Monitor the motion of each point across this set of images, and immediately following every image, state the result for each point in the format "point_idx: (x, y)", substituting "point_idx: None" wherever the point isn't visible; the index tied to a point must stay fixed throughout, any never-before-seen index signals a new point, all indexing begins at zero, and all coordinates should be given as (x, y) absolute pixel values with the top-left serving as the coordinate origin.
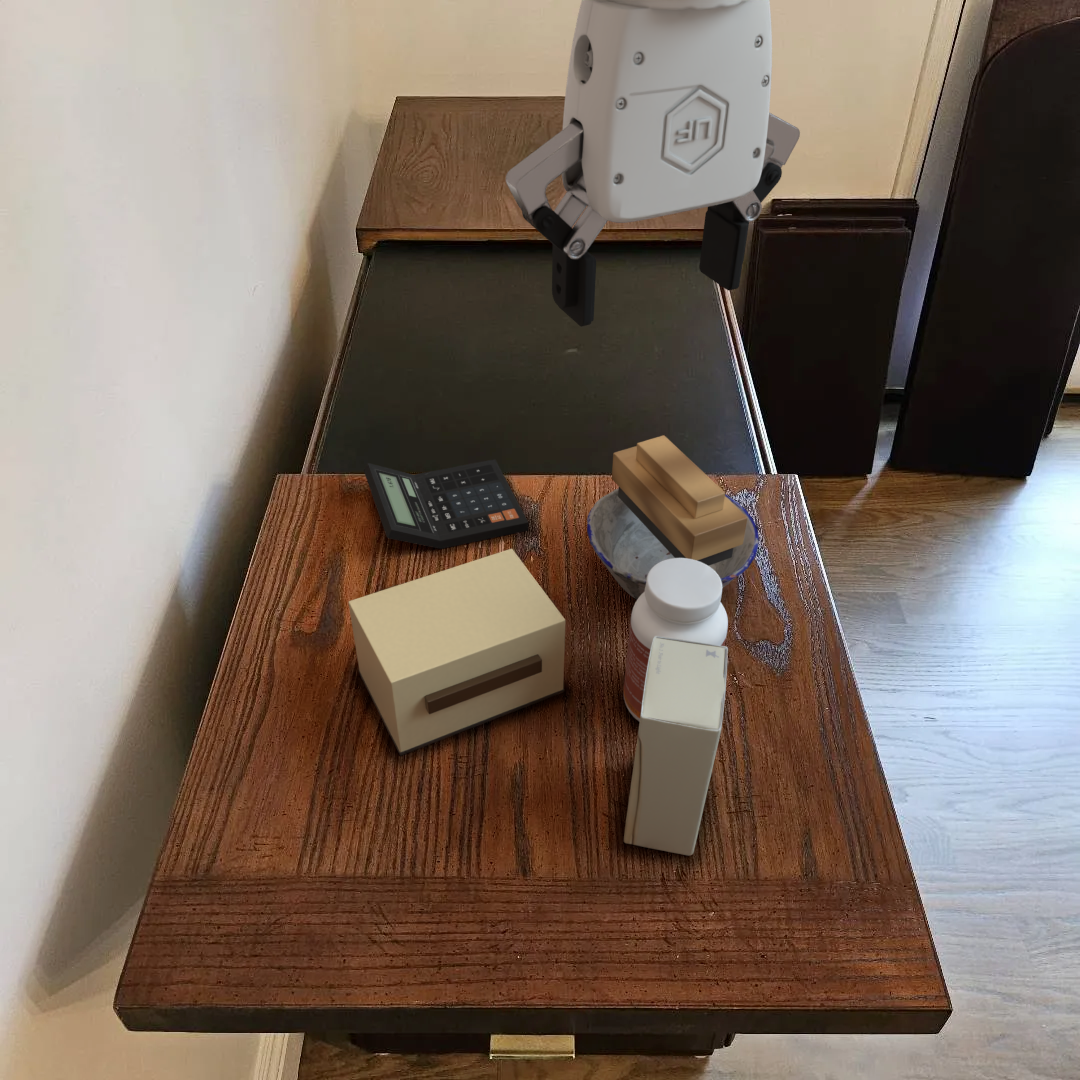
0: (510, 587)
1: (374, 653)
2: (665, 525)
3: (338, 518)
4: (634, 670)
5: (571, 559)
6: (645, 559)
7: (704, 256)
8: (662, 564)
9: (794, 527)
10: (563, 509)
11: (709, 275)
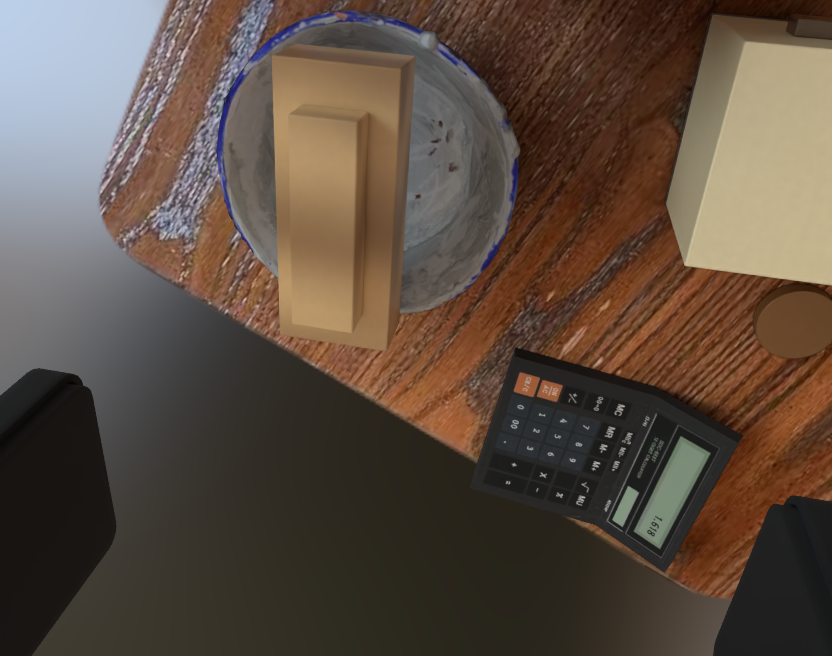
0: (765, 178)
1: None
2: (405, 155)
3: (736, 514)
4: None
5: (498, 261)
6: (408, 185)
7: (76, 569)
8: None
9: (136, 122)
10: (439, 355)
11: (103, 488)
